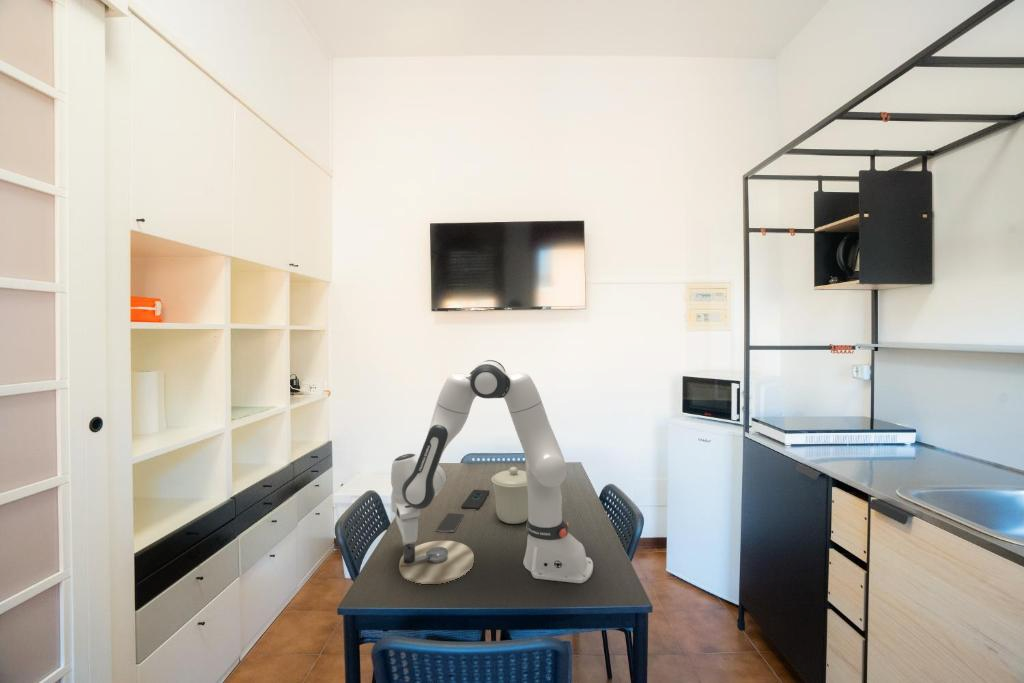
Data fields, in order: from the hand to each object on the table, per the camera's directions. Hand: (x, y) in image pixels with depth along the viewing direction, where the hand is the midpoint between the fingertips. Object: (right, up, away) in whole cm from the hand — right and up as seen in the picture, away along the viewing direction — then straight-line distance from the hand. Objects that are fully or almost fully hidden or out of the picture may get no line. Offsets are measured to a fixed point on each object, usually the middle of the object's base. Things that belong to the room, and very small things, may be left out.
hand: (405, 544), depth 139 cm
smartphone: (+11, -5, +27) cm, 29 cm away
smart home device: (+19, -5, +49) cm, 53 cm away
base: (+11, -5, -2) cm, 12 cm away
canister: (+36, -5, +30) cm, 48 cm away
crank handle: (+8, -3, -4) cm, 9 cm away
